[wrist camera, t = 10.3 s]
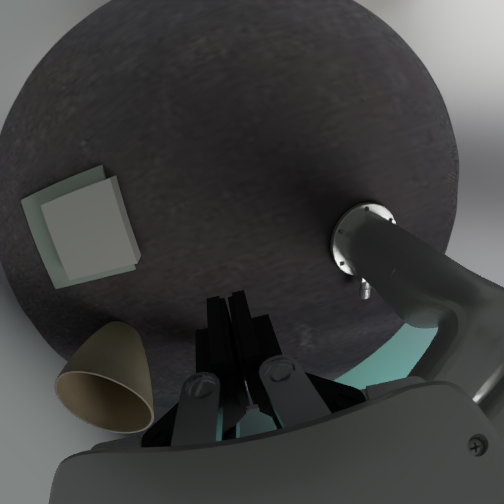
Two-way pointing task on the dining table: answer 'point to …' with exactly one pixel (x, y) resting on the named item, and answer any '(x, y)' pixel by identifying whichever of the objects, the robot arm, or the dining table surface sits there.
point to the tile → (91, 229)
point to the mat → (42, 231)
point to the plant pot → (109, 381)
